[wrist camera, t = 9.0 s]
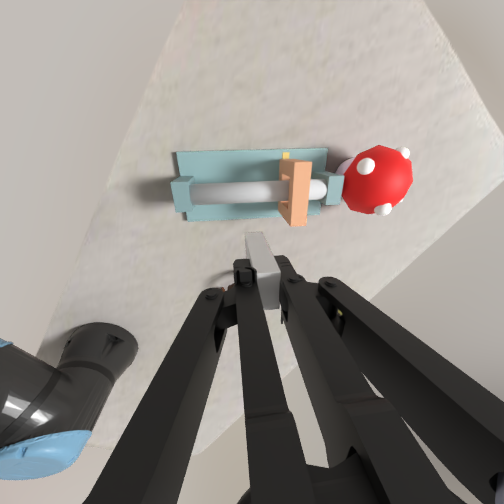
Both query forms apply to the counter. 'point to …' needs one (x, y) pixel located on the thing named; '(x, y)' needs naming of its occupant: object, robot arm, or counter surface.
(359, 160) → the mushroom
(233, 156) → the pipe rig
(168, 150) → the counter surface
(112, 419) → the counter surface
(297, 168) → the peach rectangular collar
